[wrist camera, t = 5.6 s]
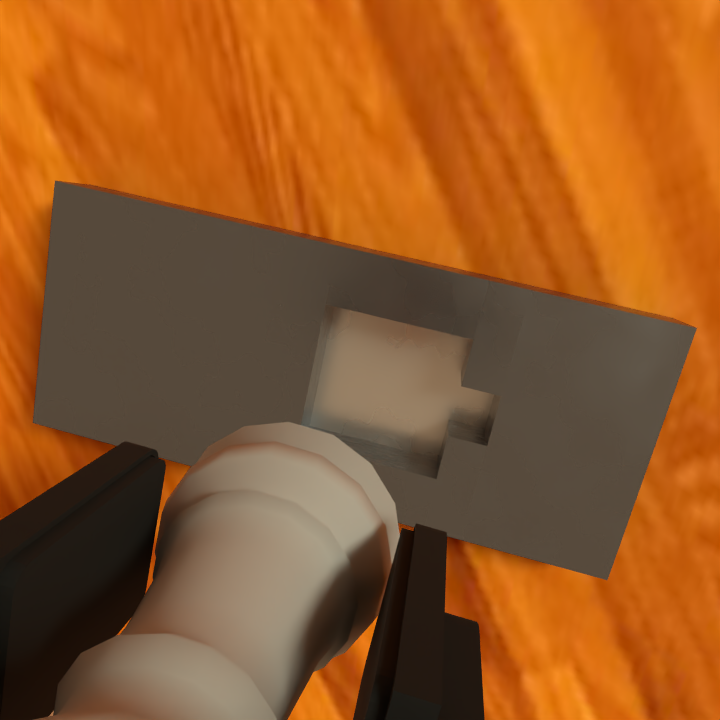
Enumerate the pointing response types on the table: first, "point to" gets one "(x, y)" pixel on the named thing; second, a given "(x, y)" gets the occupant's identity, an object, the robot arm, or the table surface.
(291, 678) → the rook chess piece
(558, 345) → the pocket plate
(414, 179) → the table surface
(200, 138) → the table surface
